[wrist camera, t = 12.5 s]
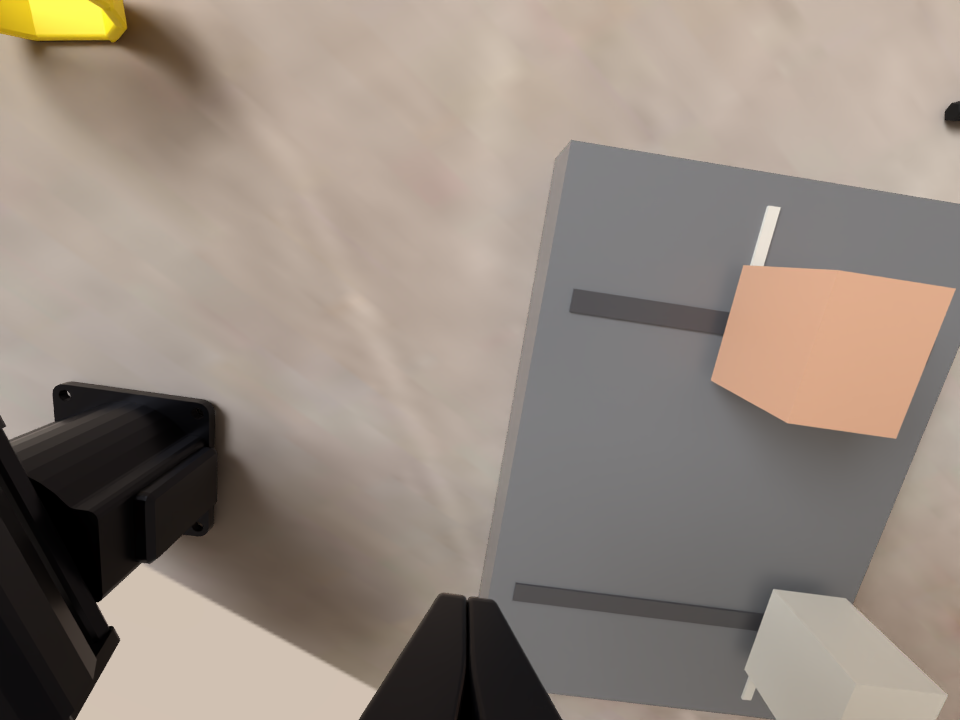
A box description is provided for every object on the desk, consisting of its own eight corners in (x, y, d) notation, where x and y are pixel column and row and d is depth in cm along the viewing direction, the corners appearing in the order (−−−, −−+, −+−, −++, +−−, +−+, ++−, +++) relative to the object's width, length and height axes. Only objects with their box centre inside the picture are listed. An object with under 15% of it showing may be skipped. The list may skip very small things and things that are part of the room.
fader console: (473, 627, 22) (472, 686, 19) (555, 158, 17) (571, 138, 14) (762, 662, 23) (805, 725, 20) (926, 219, 18) (1017, 212, 15)
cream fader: (744, 669, 19) (814, 779, 15) (773, 589, 18) (856, 684, 14) (813, 677, 19) (900, 789, 15) (845, 598, 18) (948, 695, 14)
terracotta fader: (710, 380, 16) (787, 423, 12) (743, 265, 15) (838, 270, 11) (793, 392, 16) (896, 438, 12) (830, 278, 15) (956, 288, 11)
